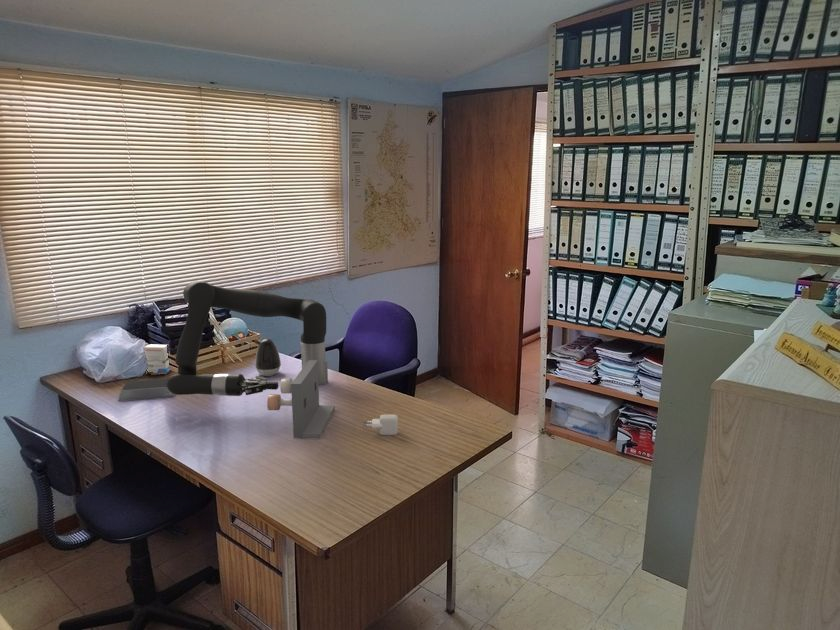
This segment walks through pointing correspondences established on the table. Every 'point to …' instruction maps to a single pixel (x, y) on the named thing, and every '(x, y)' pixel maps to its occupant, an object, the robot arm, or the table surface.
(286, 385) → the cream knob
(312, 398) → the knob mount
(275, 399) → the terracotta knob
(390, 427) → the power adapter
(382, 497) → the table surface
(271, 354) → the dark grey tapered speaker
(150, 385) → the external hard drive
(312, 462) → the table surface
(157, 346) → the ink box
